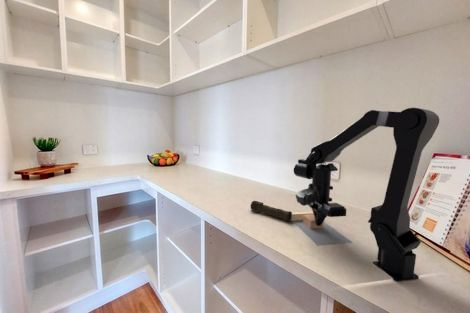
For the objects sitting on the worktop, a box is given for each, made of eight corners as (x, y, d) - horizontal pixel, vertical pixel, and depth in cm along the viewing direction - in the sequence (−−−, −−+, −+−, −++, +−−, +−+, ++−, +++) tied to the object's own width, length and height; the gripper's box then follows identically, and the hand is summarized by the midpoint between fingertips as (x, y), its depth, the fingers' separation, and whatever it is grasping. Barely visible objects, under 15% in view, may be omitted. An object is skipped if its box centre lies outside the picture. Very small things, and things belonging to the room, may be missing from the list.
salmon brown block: (323, 227, 69) (323, 219, 68) (310, 228, 68) (310, 220, 68) (315, 221, 74) (315, 214, 73) (303, 222, 73) (303, 214, 72)
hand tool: (292, 220, 75) (293, 208, 75) (287, 223, 72) (288, 211, 72) (254, 208, 88) (254, 198, 88) (249, 210, 85) (249, 200, 85)
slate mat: (352, 243, 60) (353, 234, 59) (317, 246, 58) (317, 237, 57) (317, 218, 78) (317, 211, 77) (289, 220, 76) (290, 212, 75)
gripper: (287, 176, 73) (285, 216, 75) (315, 190, 55) (312, 241, 57) (313, 176, 75) (311, 214, 77) (349, 189, 57) (345, 239, 59)
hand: (318, 225), depth 67 cm, fingers closed
